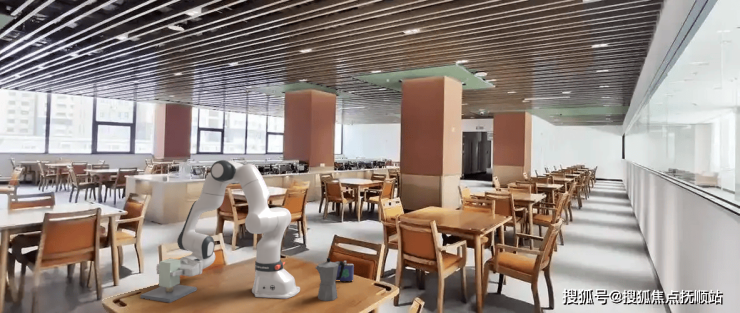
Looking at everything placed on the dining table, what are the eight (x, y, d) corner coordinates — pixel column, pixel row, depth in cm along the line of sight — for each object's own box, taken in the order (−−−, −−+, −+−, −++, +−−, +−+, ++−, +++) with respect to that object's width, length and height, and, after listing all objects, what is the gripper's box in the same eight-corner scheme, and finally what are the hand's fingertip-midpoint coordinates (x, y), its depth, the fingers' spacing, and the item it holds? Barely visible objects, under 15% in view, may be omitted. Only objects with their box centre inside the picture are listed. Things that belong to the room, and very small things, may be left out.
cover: (179, 283, 173) (180, 259, 173) (169, 287, 167) (170, 263, 167) (169, 281, 175) (169, 258, 175) (158, 286, 169) (159, 261, 169)
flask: (353, 280, 196) (354, 260, 196) (353, 282, 193) (353, 261, 193) (336, 280, 196) (336, 259, 196) (335, 282, 193) (335, 261, 193)
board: (196, 290, 176) (197, 277, 176) (170, 302, 161) (170, 288, 161) (169, 286, 181) (169, 274, 181) (140, 298, 165) (140, 284, 165)
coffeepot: (320, 303, 164) (321, 262, 164) (309, 297, 171) (310, 257, 171) (349, 296, 173) (350, 257, 173) (338, 290, 180) (339, 253, 181)
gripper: (170, 256, 184) (146, 264, 171) (205, 260, 179) (183, 268, 166) (169, 269, 184) (146, 277, 171) (204, 274, 179) (182, 283, 166)
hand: (164, 273), depth 168 cm, fingers closed on cover, 6 cm apart
